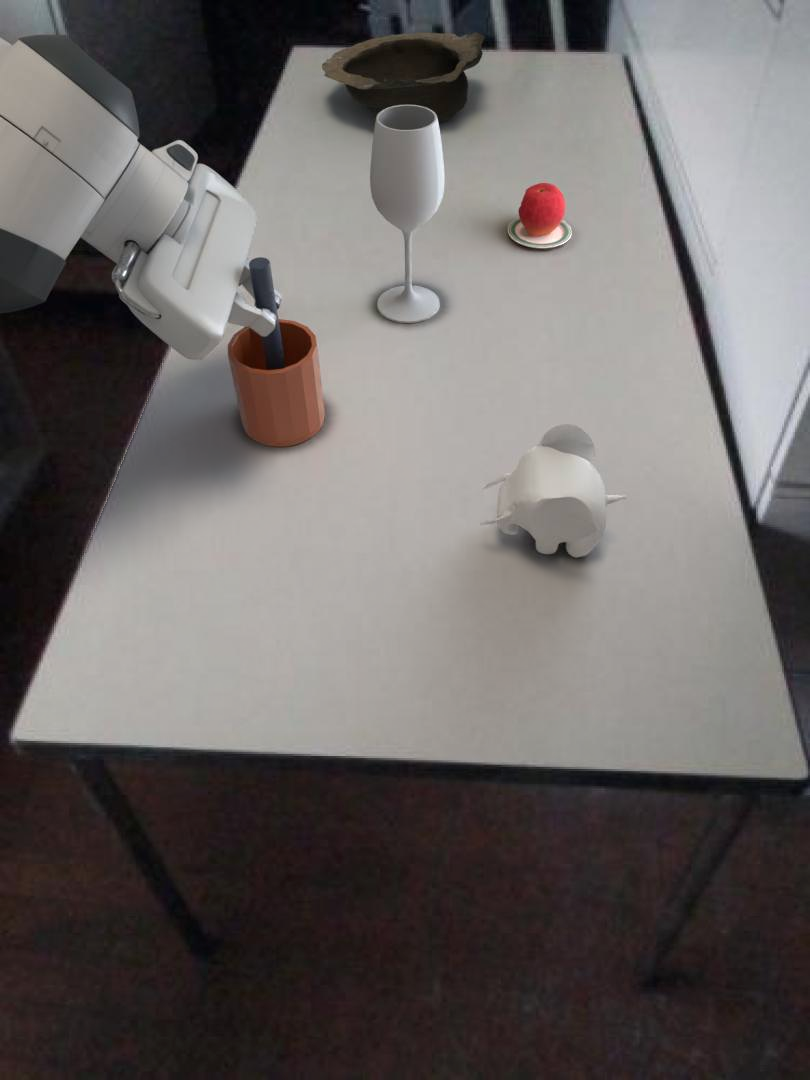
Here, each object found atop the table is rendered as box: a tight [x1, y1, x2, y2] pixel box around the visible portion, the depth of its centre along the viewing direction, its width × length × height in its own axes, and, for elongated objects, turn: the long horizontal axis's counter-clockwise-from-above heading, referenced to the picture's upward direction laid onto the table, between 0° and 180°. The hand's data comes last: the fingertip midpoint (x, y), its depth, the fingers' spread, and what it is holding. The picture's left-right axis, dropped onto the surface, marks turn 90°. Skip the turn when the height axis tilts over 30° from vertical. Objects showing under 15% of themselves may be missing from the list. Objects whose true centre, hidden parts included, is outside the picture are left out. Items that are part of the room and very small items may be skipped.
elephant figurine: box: [479, 423, 627, 558], centre depth 72 cm, size 10×12×9 cm
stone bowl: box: [321, 31, 486, 124], centre depth 130 cm, size 25×25×9 cm
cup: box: [227, 318, 326, 448], centre depth 82 cm, size 8×8×9 cm
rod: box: [249, 256, 286, 370], centre depth 77 cm, size 2×2×12 cm
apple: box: [507, 182, 573, 249], centre depth 105 cm, size 8×8×6 cm
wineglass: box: [369, 105, 445, 324], centre depth 90 cm, size 8×8×21 cm
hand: (274, 317), depth 77 cm, fingers closed on rod, 2 cm apart
